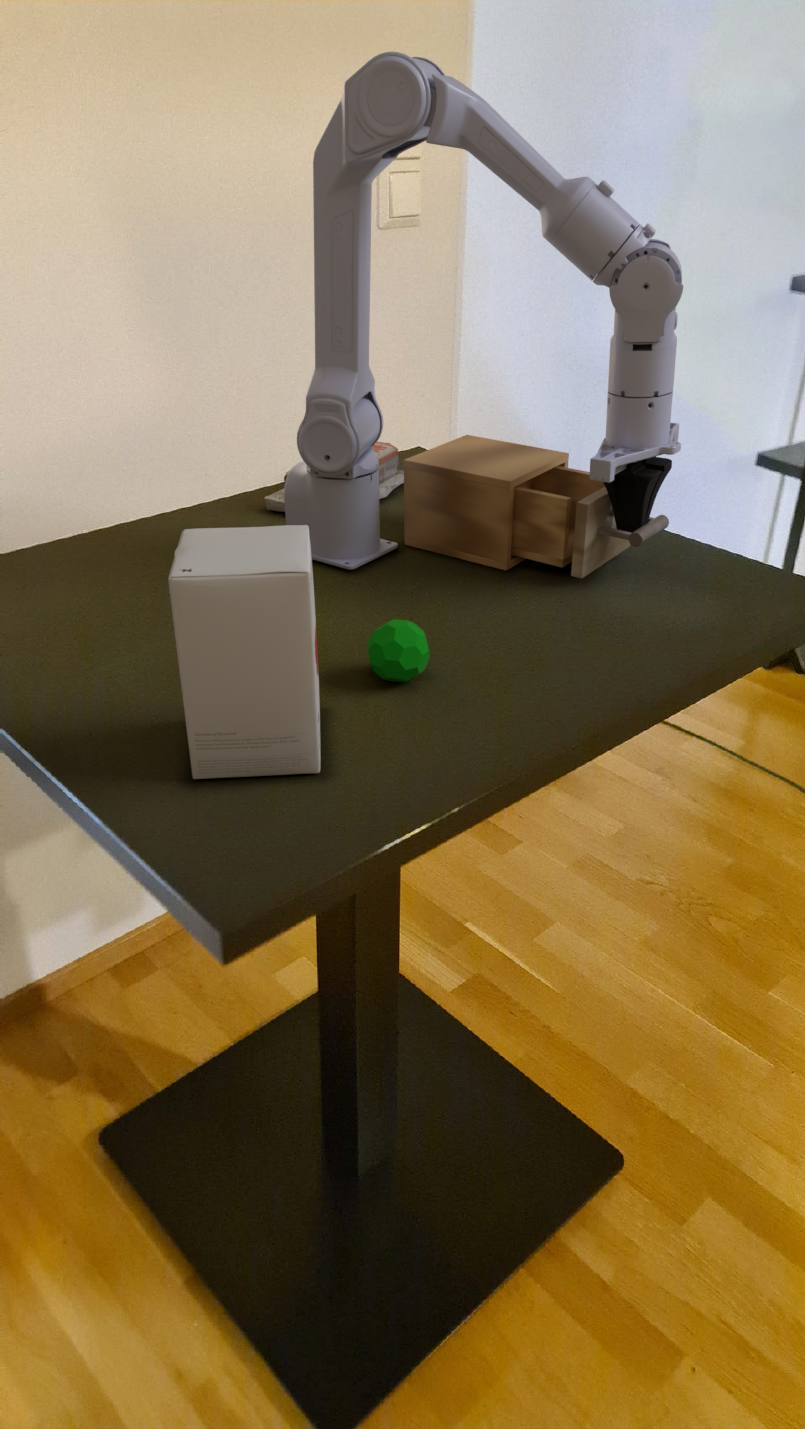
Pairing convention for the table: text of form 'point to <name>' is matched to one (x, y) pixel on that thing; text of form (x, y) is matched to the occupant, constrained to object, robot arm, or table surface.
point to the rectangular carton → (247, 650)
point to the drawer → (571, 522)
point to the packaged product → (387, 476)
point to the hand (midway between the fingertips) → (630, 536)
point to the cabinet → (470, 497)
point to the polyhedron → (398, 650)
